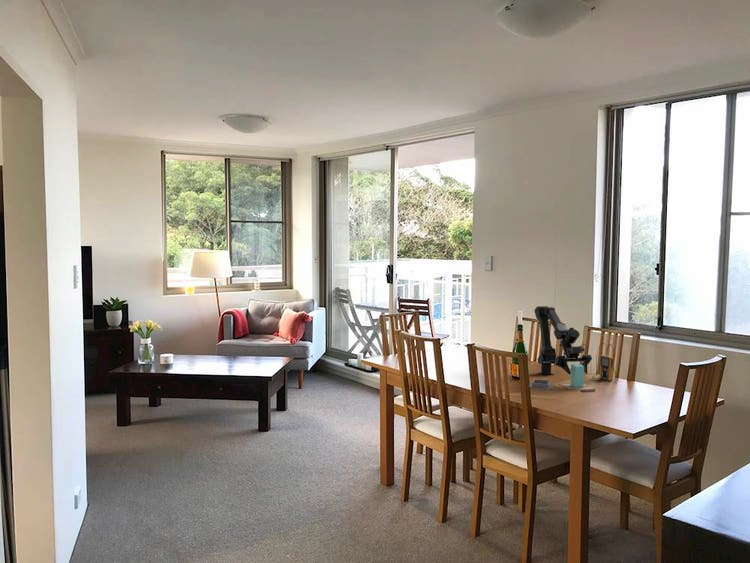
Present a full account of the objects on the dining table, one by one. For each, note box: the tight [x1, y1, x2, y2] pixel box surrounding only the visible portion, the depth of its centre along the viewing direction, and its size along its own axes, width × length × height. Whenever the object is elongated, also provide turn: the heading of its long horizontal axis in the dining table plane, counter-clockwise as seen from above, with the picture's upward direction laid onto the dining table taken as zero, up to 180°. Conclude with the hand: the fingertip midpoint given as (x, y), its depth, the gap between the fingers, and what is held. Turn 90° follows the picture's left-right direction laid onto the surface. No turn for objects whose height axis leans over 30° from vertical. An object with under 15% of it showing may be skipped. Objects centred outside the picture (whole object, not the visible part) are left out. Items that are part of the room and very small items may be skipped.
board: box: [559, 382, 596, 393], centre depth 304 cm, size 13×13×1 cm
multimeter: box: [592, 342, 619, 383], centre depth 323 cm, size 15×10×20 cm
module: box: [570, 363, 585, 388], centre depth 304 cm, size 5×4×11 cm
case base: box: [529, 378, 553, 390], centre depth 307 cm, size 14×11×3 cm
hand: (578, 373), depth 303 cm, fingers open, 9 cm apart
